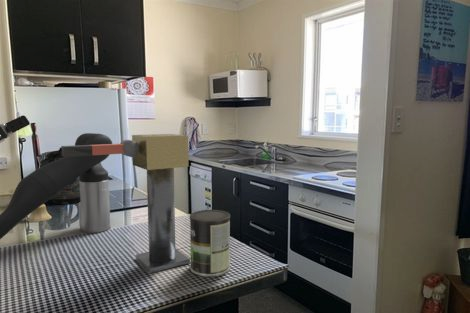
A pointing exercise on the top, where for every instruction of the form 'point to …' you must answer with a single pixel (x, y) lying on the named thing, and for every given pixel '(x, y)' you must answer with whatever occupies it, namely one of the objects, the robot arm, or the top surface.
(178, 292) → the top surface
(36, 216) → the hand bell
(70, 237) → the top surface
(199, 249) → the coffee can
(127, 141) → the lever
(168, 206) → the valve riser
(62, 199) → the beer stein
